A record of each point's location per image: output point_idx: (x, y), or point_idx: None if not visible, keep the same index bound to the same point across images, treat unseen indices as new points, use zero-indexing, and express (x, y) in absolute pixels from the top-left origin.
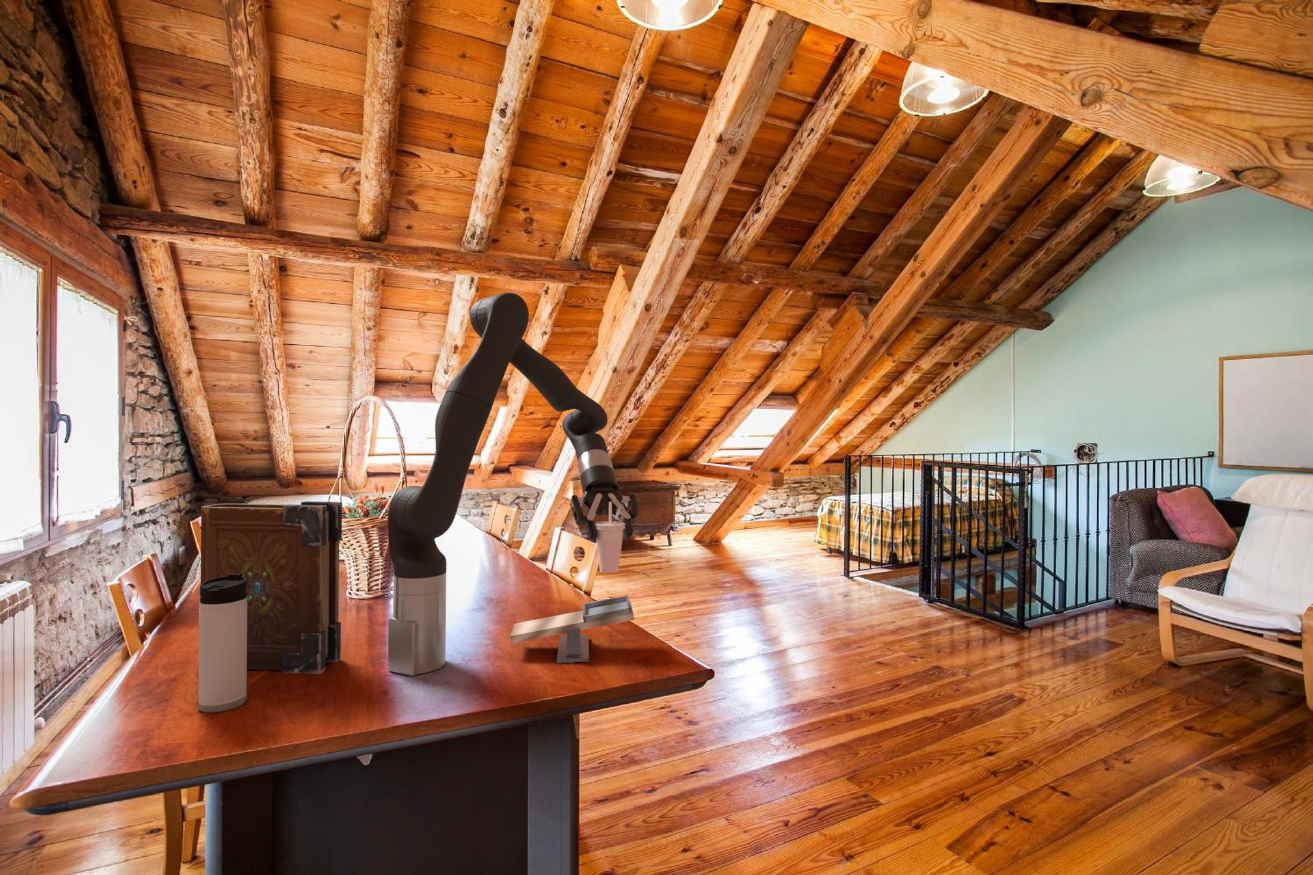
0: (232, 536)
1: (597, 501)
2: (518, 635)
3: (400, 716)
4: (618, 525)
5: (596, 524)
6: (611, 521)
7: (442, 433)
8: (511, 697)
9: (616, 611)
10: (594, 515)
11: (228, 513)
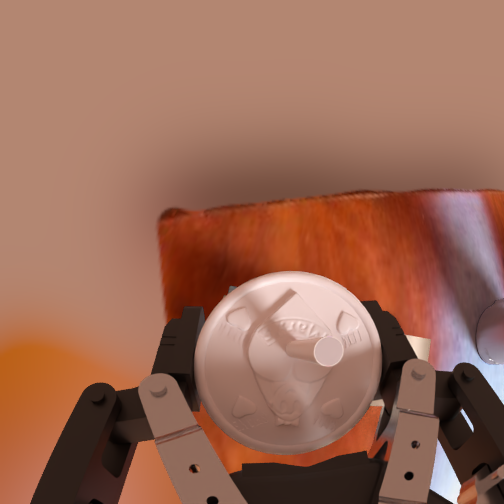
0: None
1: (400, 489)
2: (420, 338)
3: (482, 206)
4: (259, 278)
5: (376, 334)
6: (287, 345)
7: None
8: (408, 211)
9: None
10: (384, 431)
11: None
